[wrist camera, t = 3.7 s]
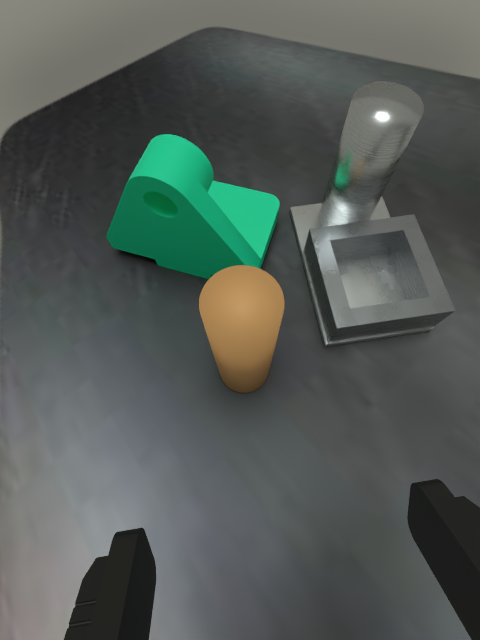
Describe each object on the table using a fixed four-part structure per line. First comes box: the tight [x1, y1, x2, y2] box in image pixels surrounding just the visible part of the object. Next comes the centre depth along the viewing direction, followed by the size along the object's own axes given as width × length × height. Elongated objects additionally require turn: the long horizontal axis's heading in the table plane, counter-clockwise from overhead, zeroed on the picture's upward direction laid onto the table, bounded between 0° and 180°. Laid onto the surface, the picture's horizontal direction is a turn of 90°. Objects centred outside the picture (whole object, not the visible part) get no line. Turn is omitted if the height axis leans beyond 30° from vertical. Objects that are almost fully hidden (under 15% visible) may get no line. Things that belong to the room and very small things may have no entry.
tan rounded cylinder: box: [199, 265, 284, 393], centre depth 19 cm, size 4×4×11 cm
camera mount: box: [106, 134, 279, 279], centre depth 24 cm, size 12×8×10 cm, turn 72°
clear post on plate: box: [290, 81, 455, 347], centre depth 23 cm, size 12×8×11 cm, turn 8°
